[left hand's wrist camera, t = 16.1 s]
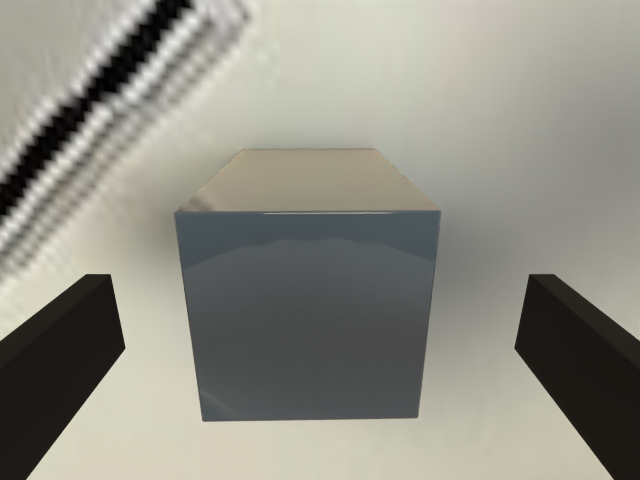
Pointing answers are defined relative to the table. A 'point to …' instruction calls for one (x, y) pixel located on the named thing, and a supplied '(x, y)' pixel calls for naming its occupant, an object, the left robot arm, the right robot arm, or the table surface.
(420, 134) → the table surface
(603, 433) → the left robot arm
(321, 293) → the block
